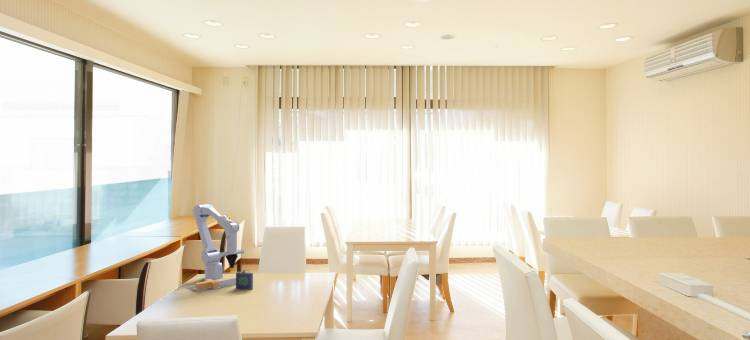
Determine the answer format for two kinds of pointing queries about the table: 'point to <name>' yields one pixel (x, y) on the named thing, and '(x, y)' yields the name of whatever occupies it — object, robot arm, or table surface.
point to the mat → (221, 285)
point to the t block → (207, 284)
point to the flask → (244, 280)
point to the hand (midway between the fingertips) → (231, 267)
